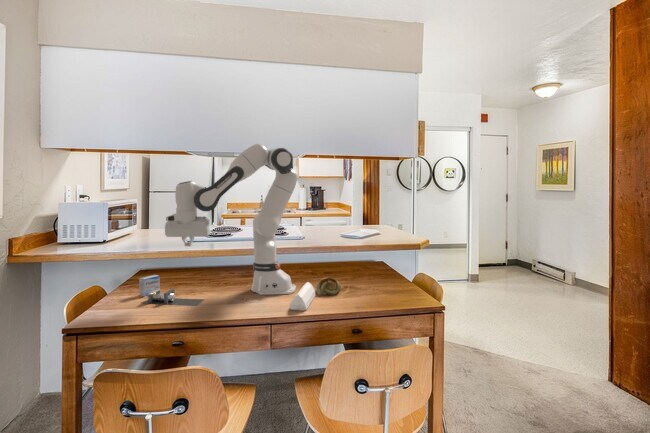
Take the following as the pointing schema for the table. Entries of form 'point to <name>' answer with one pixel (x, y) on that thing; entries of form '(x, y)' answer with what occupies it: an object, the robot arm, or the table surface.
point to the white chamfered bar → (303, 298)
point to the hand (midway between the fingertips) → (188, 246)
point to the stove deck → (176, 301)
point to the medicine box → (149, 284)
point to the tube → (162, 297)
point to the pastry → (328, 286)
